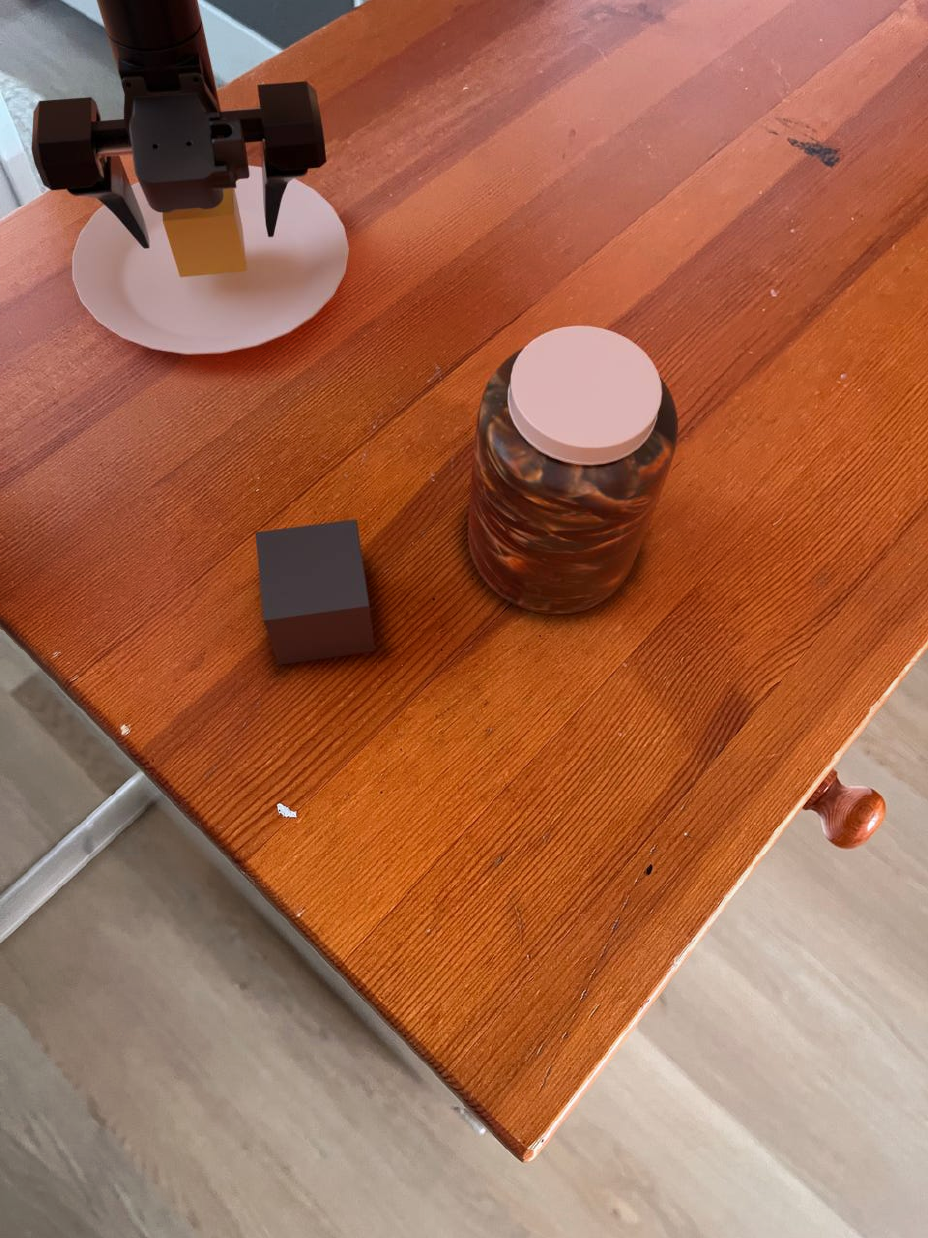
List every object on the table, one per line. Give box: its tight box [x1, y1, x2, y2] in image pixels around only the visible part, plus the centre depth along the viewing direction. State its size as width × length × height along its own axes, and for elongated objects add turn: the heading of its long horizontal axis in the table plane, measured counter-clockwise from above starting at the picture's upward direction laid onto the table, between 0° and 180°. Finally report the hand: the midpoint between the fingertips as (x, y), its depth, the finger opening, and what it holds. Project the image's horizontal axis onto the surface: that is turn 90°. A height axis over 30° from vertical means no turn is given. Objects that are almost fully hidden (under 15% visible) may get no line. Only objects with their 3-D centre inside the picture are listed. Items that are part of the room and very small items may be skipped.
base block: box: [255, 518, 376, 666], centre depth 55 cm, size 6×6×6 cm
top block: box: [162, 188, 247, 277], centre depth 67 cm, size 5×5×5 cm
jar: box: [467, 325, 679, 615], centre depth 54 cm, size 12×12×15 cm
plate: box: [72, 164, 350, 356], centre depth 70 cm, size 21×21×2 cm
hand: (209, 239), depth 68 cm, fingers open, 9 cm apart
